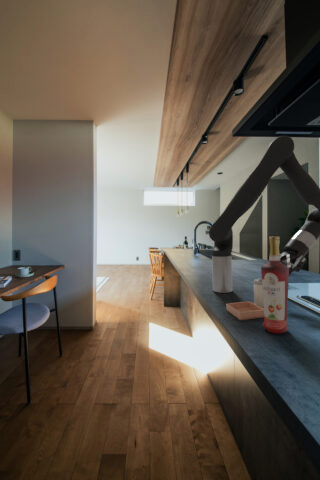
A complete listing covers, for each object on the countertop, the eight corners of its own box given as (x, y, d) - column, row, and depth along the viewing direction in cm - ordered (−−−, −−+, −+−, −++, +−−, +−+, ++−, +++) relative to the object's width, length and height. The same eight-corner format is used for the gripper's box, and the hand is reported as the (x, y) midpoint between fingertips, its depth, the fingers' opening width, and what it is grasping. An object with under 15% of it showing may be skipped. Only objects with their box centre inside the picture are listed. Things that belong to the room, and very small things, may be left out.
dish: (226, 310, 84) (226, 303, 84) (249, 307, 86) (249, 301, 86) (240, 320, 75) (240, 313, 75) (265, 317, 77) (265, 309, 77)
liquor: (293, 330, 67) (292, 236, 65) (284, 339, 62) (283, 237, 60) (267, 323, 72) (266, 236, 71) (257, 331, 67) (256, 237, 66)
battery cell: (251, 305, 88) (251, 278, 87) (261, 304, 89) (261, 277, 88) (258, 309, 84) (258, 280, 83) (269, 308, 85) (268, 279, 84)
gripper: (280, 237, 95) (256, 266, 93) (309, 238, 81) (282, 272, 79) (291, 249, 96) (268, 278, 95) (321, 252, 82) (295, 286, 81)
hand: (274, 275), depth 87 cm, fingers open, 8 cm apart
